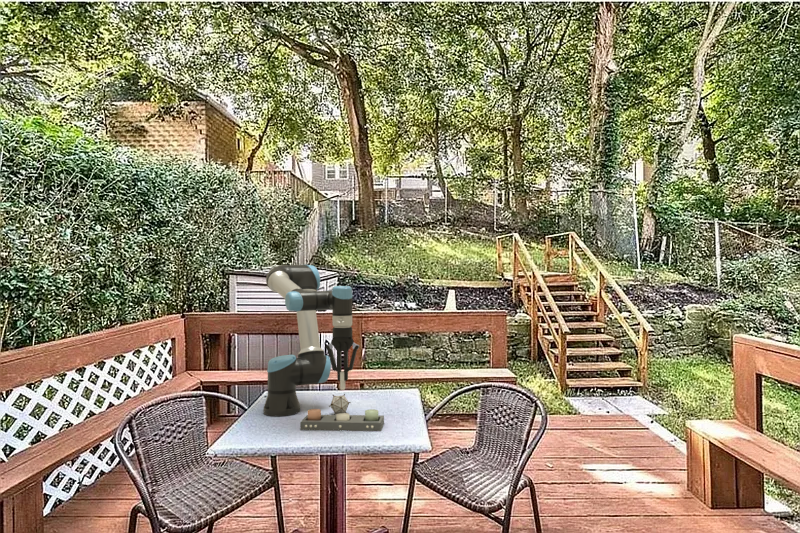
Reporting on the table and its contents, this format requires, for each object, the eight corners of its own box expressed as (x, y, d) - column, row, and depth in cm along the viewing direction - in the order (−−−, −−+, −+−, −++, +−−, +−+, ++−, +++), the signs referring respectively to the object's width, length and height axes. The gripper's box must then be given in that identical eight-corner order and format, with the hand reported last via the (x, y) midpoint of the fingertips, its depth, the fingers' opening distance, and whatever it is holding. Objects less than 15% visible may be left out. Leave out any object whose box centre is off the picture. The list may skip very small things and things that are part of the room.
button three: (306, 422, 207) (306, 411, 207) (309, 418, 212) (309, 408, 212) (319, 422, 207) (319, 412, 207) (322, 418, 212) (322, 408, 212)
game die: (342, 423, 227) (345, 407, 221) (324, 415, 229) (326, 399, 223) (351, 409, 234) (355, 392, 229) (333, 401, 236) (336, 385, 230)
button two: (364, 422, 206) (364, 412, 206) (366, 419, 211) (366, 409, 211) (377, 422, 205) (377, 412, 205) (379, 419, 210) (379, 409, 210)
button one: (335, 426, 206) (335, 416, 207) (337, 422, 211) (337, 412, 212) (348, 426, 206) (348, 416, 206) (350, 423, 211) (350, 413, 211)
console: (299, 430, 204) (299, 422, 204) (307, 422, 215) (307, 414, 215) (380, 431, 202) (380, 423, 202) (384, 423, 213) (383, 415, 213)
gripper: (323, 327, 206) (323, 390, 206) (357, 327, 205) (358, 391, 205) (327, 325, 214) (327, 386, 213) (360, 325, 213) (361, 387, 212)
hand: (342, 389), depth 209 cm, fingers closed
